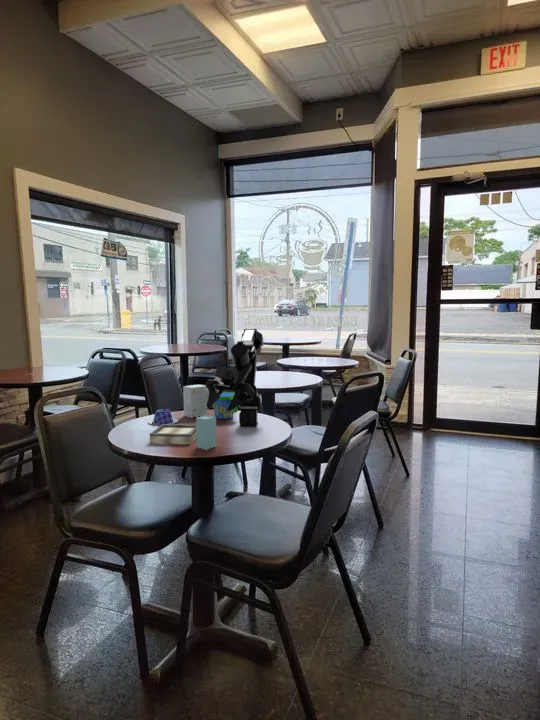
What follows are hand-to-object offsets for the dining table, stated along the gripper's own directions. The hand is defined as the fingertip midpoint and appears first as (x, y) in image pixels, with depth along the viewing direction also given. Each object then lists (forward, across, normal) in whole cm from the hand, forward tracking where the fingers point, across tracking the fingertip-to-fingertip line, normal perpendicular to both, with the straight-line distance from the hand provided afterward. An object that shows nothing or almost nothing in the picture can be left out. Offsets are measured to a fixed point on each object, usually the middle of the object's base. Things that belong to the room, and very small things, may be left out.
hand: (217, 409), depth 157 cm
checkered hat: (+1, -39, +16) cm, 43 cm away
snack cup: (-14, -25, +30) cm, 41 cm away
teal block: (+12, 0, +4) cm, 13 cm away
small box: (-10, -38, +27) cm, 48 cm away
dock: (+11, -16, +6) cm, 21 cm away
